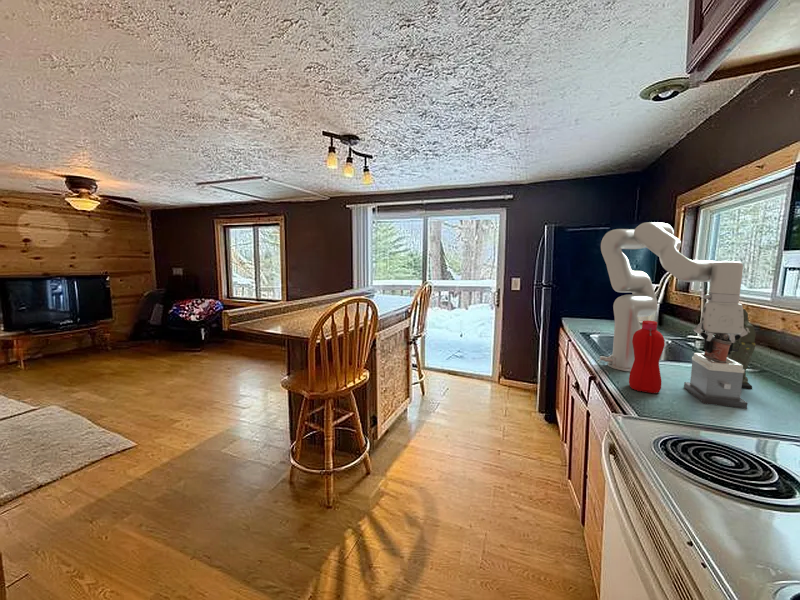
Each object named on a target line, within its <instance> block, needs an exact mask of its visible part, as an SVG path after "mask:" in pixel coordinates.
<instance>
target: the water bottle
mask: <svg viewBox="0 0 800 600" xmlns="http://www.w3.org/2000/svg"><path fill="white" fill-rule="evenodd" d="M657 328H658V322H657V321H656V320H655V321H654V320H642V323H641V329H640V330H638V331H636V332H635V333H634V335H633V340H632V343H633V349H634V359H635V360H634V363H633V366H632V369H631V371H629V376H628V383H629V388H631V389H632V390H633V389H634V391H636V390H637V391H636V392H641V391H642V393H643V392H644V393H647V394H648V393H649V394H657V393H660V391H661V389H662V376H661V369H660V359H661V356H662V354H663V351H664V349H665V338H664V335H663V334H662V333H661V332H660V331H658V330H657Z"/></svg>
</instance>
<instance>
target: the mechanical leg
mask: <svg viewBox="0 0 800 600" xmlns="http://www.w3.org/2000/svg"><path fill="white" fill-rule="evenodd" d="M743 315H744V325H743V327H744V329H745V330H746V331H747V333H748V334H747V335H745V336H743V337H740V338H739V339H738V340H736V341H735V342H734V343H733V348H732V352H731V354H728V355H727V358H729V359H732V360H734V361H736V362H738V363H740V364H742V365H743V369H744V370H745V371H744V373H743V380H742V388H747V389H746V390H753V385H752V384H751V383H750V382H749V379H748V377H747V373H746V371H747V369H748V367H749V364H750V361H751V358H752V356H753V354H754V351H755V348H756V346H757V345H756V343H755V339H756V331H755V328H754V325H753V324H752V323H751V322H750V320H749V318H748V317H749V313H748V311H747V310H746V309H744V308H743Z"/></svg>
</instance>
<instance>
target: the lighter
mask: <svg viewBox="0 0 800 600" xmlns="http://www.w3.org/2000/svg"><path fill="white" fill-rule="evenodd" d="M728 338H729V335H728V334H721V333H714V334H713V337H712V342H713V347H712V353H708V352H706V351H705V350H704V355H703V356H704V357H706V358H708V359H709V360H711V361H714V362H718V363H726V359H727V355H728V351H729V348H730V345H731V343H732V342H730V341H728V340H727V339H728Z"/></svg>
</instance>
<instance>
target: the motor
mask: <svg viewBox="0 0 800 600" xmlns="http://www.w3.org/2000/svg"><path fill="white" fill-rule="evenodd" d="M704 354H705V352H704V353H701V352H694V353H693V356H692V357H691V361H692V362H691V371H690V382H689V381H687V382H686V381H685V382H684V383H683V384H684V385H683V388H684V389H685V390H686V391H687V392H689V393H691V395H692V396H694V397H695V398H697V400H699V401H700V402H701V403H703V405H710V406H719V407H727V408H728V407H729V408H735V409H736V408H737V409H748V404H749V403H748V401H746V400H744V399H743V398H742V397H741V396H742V390H743V389H742V380H743V373H744V371H745V370H744V369H743V365H742V364H740V363H738V362H736V361H734V360H732V359H729V358H727V359H726V363H718V362H714V361H711V360H709V359H708V358H706V357H704V356H703V355H704ZM745 372H746V371H745Z"/></svg>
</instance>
